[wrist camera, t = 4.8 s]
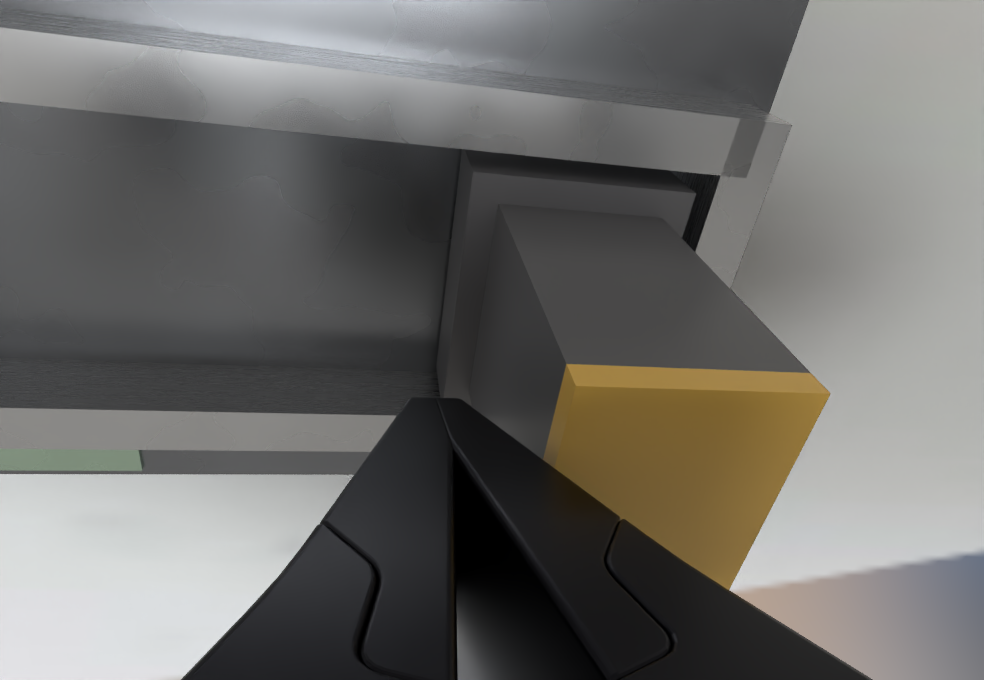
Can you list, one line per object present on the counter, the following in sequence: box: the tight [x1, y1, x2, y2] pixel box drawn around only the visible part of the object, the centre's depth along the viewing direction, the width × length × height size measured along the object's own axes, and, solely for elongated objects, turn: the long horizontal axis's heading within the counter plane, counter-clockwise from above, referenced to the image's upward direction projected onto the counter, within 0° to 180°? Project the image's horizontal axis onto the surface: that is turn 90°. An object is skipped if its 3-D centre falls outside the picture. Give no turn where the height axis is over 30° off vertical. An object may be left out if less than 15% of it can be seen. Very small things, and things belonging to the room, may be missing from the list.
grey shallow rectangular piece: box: [0, 0, 809, 474], centre depth 13 cm, size 18×12×3 cm, turn 82°
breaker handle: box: [436, 149, 830, 590], centre depth 11 cm, size 4×5×7 cm
